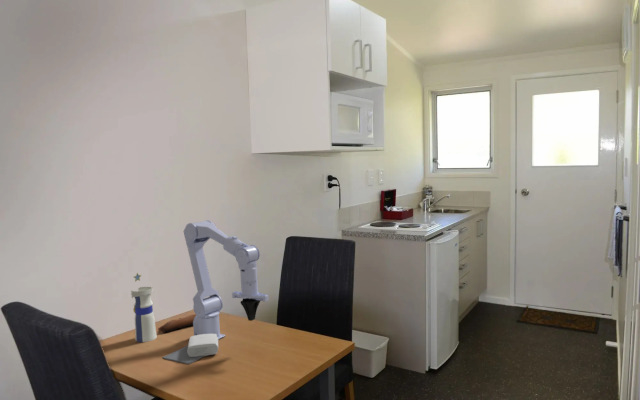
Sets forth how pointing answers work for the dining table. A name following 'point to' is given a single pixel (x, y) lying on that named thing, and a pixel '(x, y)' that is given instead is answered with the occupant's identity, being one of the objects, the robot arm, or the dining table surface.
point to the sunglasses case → (177, 323)
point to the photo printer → (202, 345)
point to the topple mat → (182, 356)
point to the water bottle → (144, 314)
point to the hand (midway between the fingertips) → (251, 319)
